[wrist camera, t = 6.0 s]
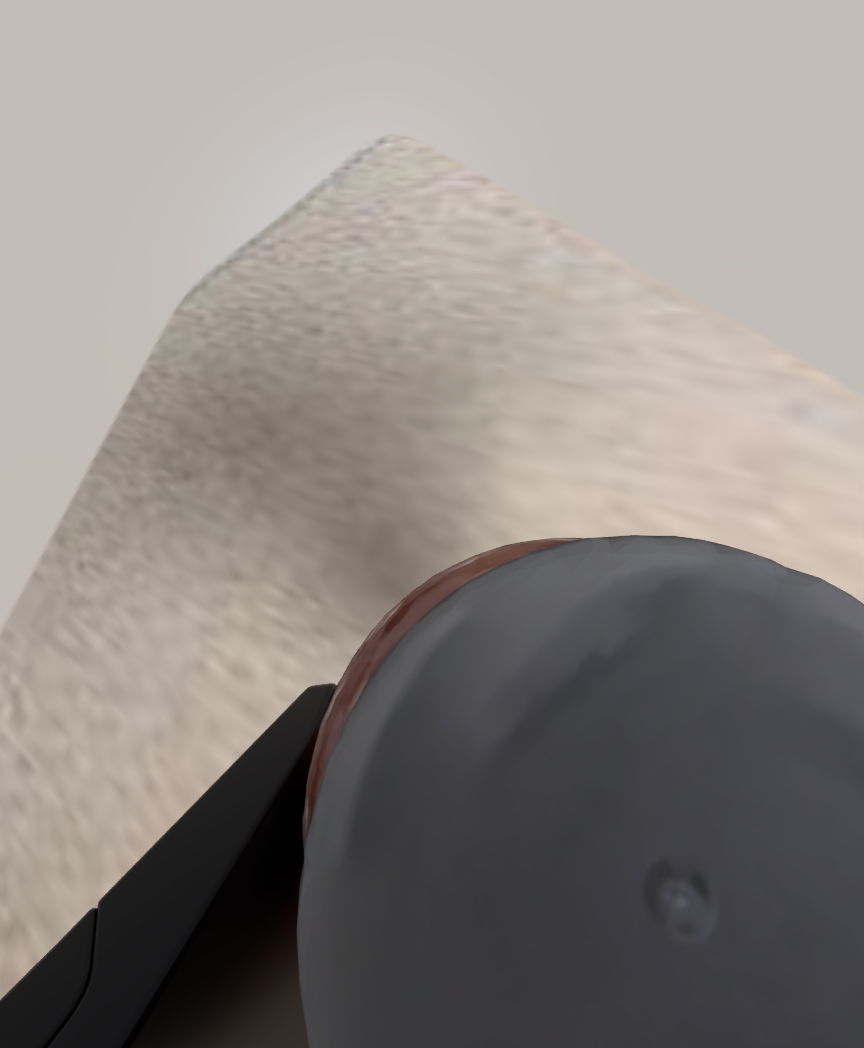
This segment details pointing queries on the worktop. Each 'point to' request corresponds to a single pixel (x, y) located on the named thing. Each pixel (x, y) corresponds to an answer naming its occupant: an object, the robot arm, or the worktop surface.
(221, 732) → the worktop surface
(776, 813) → the supplement bottle
